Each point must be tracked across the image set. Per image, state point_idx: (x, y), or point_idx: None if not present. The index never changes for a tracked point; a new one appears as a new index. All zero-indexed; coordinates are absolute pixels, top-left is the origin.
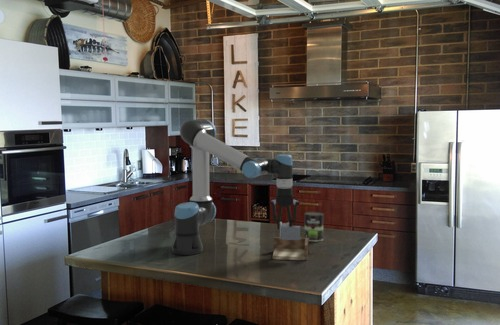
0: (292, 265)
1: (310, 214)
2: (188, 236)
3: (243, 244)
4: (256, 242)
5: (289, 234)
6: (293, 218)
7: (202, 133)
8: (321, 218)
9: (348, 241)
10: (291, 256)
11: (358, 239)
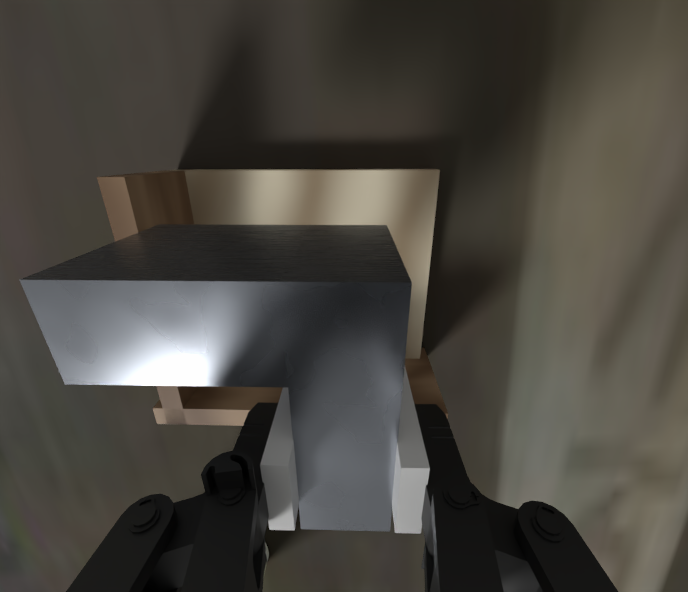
0: None
1: None
2: None
3: (599, 461)
4: (517, 495)
5: (267, 242)
6: (134, 565)
7: None
8: None
9: (53, 528)
10: (288, 171)
11: (21, 554)
